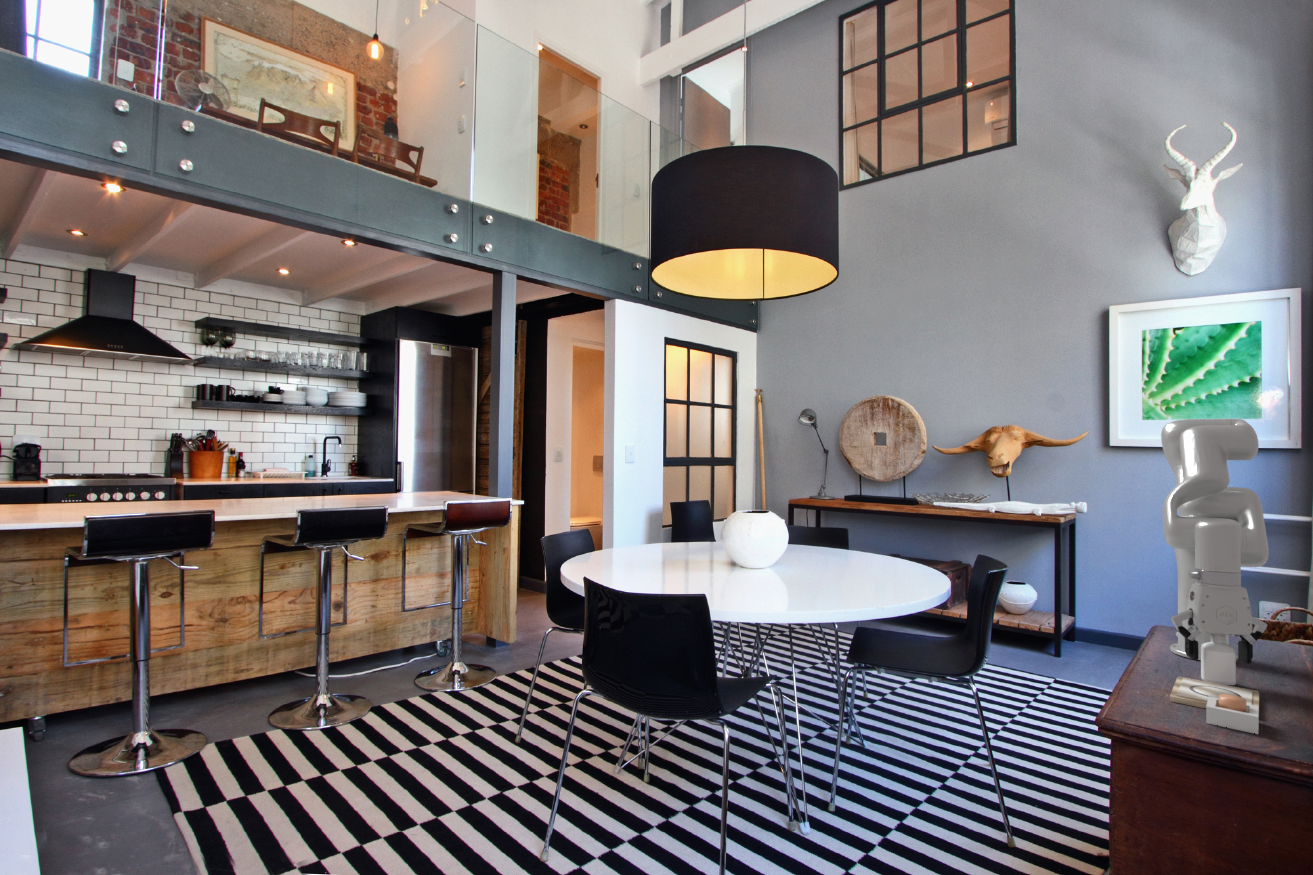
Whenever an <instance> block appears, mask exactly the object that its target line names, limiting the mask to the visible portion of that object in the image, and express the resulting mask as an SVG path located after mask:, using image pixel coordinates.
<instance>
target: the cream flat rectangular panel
mask: <svg viewBox="0 0 1313 875" xmlns="http://www.w3.org/2000/svg"><path fill="white" fill-rule="evenodd" d="M1219 694H1229V695H1235V696H1239V697H1242V698H1244V699H1246V704H1251V705H1256V706H1259V707H1260V691H1259V690H1254V689H1249V688H1245V687H1244V688H1243V687H1239V686H1234V685H1222V684H1217V683H1211V682H1206V681H1204V680H1200V679H1195V678H1194V679H1193V678H1189V677H1183V676H1177V677H1176V680H1175V681H1174V685H1173V687H1172V690H1171V692H1170V695H1169V702H1172V703H1177V704H1181V705H1187V706H1193V707H1196V708H1201V709H1206V705H1207V701H1208V697H1209V696H1210V697H1215V698H1219Z"/></svg>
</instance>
